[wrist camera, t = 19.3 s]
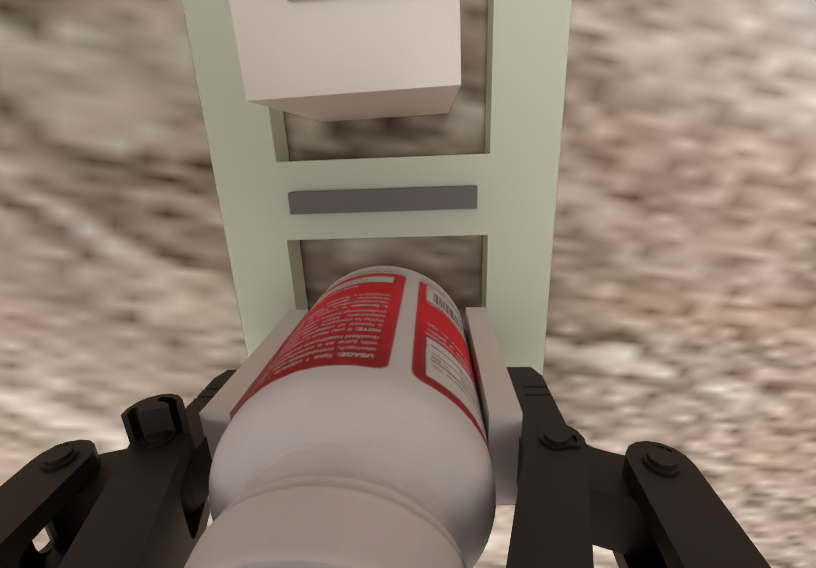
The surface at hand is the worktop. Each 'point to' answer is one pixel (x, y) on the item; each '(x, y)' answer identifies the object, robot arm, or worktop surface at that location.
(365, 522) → the pill bottle
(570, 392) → the worktop surface
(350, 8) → the block
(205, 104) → the faceplate
